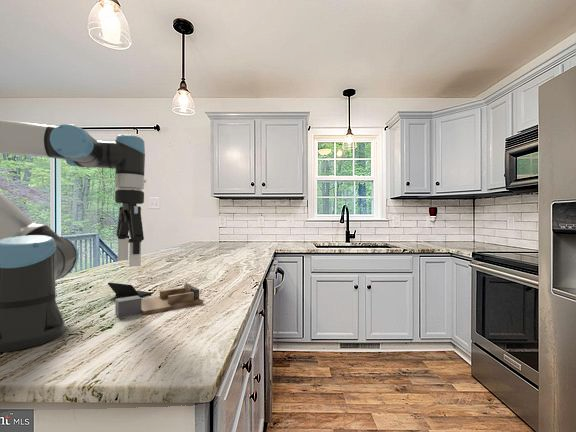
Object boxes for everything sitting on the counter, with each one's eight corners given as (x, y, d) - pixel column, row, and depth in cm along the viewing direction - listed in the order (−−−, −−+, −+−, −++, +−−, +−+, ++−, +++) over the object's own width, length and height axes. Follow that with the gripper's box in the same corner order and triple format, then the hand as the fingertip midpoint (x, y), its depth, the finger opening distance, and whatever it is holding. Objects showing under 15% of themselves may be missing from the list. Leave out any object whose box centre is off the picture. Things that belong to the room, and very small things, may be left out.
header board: (143, 314, 90) (143, 296, 90) (131, 303, 101) (131, 287, 100) (203, 303, 101) (203, 286, 101) (186, 294, 112) (186, 279, 112)
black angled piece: (155, 288, 115) (141, 270, 109) (146, 305, 109) (131, 286, 103) (128, 291, 117) (113, 273, 111) (118, 307, 112) (101, 289, 106)
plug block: (118, 317, 87) (118, 301, 87) (115, 314, 91) (115, 298, 90) (141, 313, 91) (141, 298, 91) (138, 310, 94) (138, 295, 94)
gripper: (157, 188, 84) (155, 267, 84) (132, 192, 103) (131, 257, 103) (126, 186, 79) (125, 270, 79) (106, 191, 98) (105, 258, 98)
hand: (128, 263), depth 91 cm, fingers open, 13 cm apart
